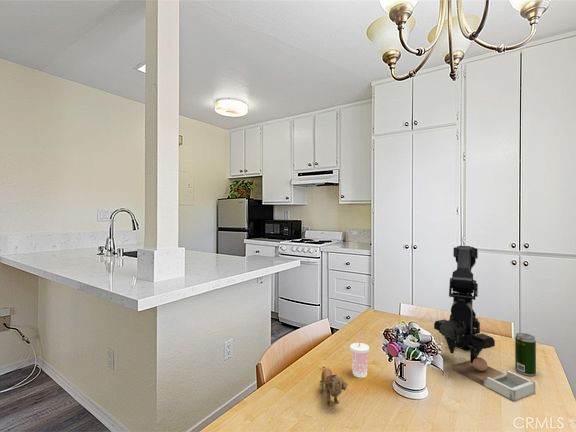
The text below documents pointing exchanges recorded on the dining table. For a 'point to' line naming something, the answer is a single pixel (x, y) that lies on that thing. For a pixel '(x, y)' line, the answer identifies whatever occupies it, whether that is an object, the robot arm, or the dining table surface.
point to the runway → (479, 373)
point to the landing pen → (512, 386)
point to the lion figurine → (332, 385)
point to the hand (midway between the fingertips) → (461, 357)
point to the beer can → (525, 354)
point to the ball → (480, 364)
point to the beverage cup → (359, 358)
